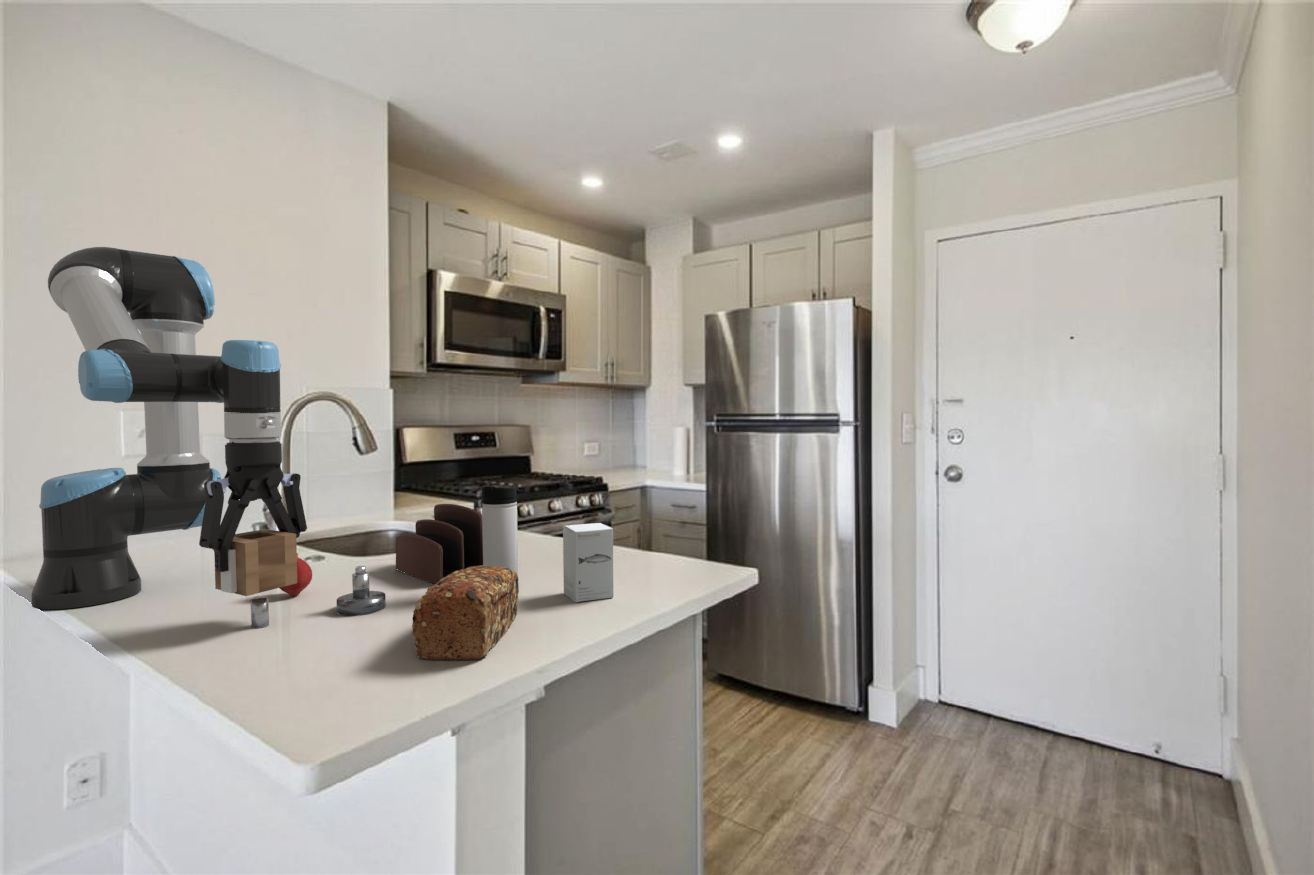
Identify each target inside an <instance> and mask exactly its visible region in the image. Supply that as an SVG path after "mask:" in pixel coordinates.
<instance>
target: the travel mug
mask: <svg viewBox="0 0 1314 875" xmlns="http://www.w3.org/2000/svg"><path fill="white" fill-rule="evenodd" d="M481 498H482V499H481V506H482V507H481V515H482V528H483V565H484V566H498V567H503V568H505V567H506V568H509V569H510V570H513V571H515V572H516V574H517V575H518V576H519V544H518V543H519V538H518V506H517V504H518V502H517V488H516V487H509V488H508V487H496V486H495V485H484V486H482V487H481ZM519 584H520V583H519V582H518V585H519ZM518 589H519V586H518Z"/></svg>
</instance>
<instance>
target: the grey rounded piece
mask: <svg viewBox="0 0 1314 875" xmlns="http://www.w3.org/2000/svg"><path fill="white" fill-rule="evenodd" d="M269 603H270V602H269V596H267V595H260V596H259V595H258V596H254V597H251V598H250V621H251V622H250V624H251V629H262V628H266V627H268V626H269V625H270V613H269V612H270V610H269V609H270V608H269V606H270V605H269ZM261 627H262V628H261Z"/></svg>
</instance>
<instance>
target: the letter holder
mask: <svg viewBox="0 0 1314 875" xmlns="http://www.w3.org/2000/svg"><path fill="white" fill-rule="evenodd" d="M481 565H483V528H482V512H479V510H478V511H477V510H475V509H473V508H471V507H468V506H463V505H460V504H453V503H438V504H435V505H434V506H433V519H428V518H427V519H417V521H415V534H414V533H404V532H403V533H399V534H397V535H396V538H395V570H396V569H398V570H400V571H402V572H401V573H403V572H405V573H407V574H406V575H408V574H409V576H411V575H412V576H411V577H414V578H416V577H417V579H419V578H420V580H423V581H425V582H427V581H429V582H428V583H430V582H432V583H431V584H433V583H434V584H433V585H435V584H436V583H438V582H439V581H440V580H441V579H442V578H444V577H446V576H447V575H449V574H451V573H452V572H454V571H457V570H462V569H466V568H468V567H471V566H481ZM400 571H399V572H400ZM405 573H404V574H405Z"/></svg>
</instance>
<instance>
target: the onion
mask: <svg viewBox="0 0 1314 875" xmlns="http://www.w3.org/2000/svg"><path fill="white" fill-rule="evenodd" d="M312 579H313V570H312V568H311V566H310V564H309V563H308V562H307V561H306V560H304V559H302V558H301V557H299V553H298V552H297V583H296V584H292V585H288V586H284V587H281V588H279V589H280V591H282V592H283V593H286V594H288V595H289V596H292V597H297V596H299V595H300V594H301V593H302V592H303V591H304V590H305V589H306V588H307V587H308V586H309V585H310V584H311V582H312Z"/></svg>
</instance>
